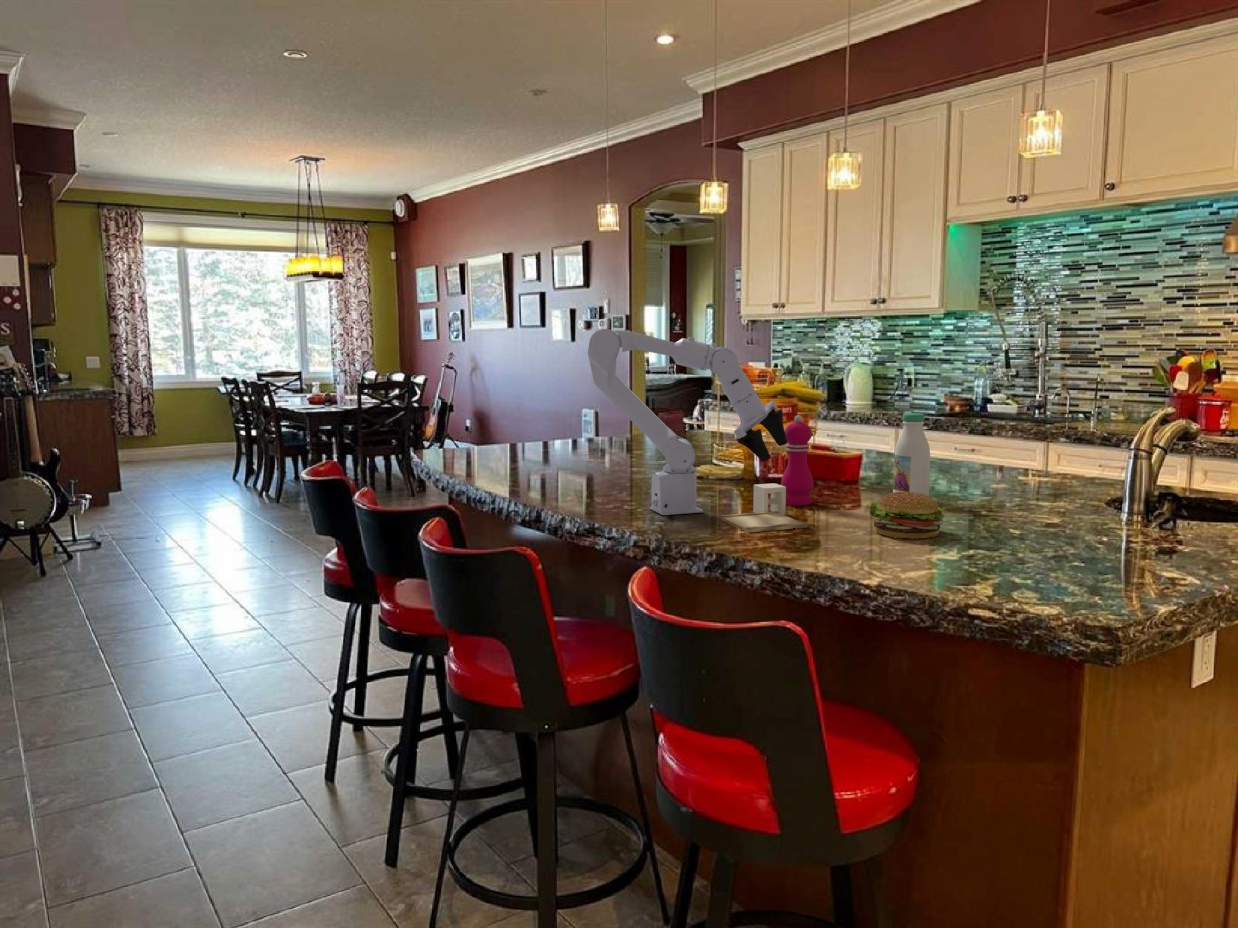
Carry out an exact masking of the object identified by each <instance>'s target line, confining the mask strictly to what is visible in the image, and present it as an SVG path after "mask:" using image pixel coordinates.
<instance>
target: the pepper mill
mask: <svg viewBox="0 0 1238 928" xmlns="http://www.w3.org/2000/svg"><path fill="white" fill-rule="evenodd" d="M793 420H794V422H791V423H789V424H787V426H786V427H785V428H784V431H785V434H786V438H787V441H788V443H787V444H786V451H788V452H787V453H788V463H787V466H786V469H785V471H784V473H783V474H782V477H781V482H780V485H782V486H785V487H786V500H785V506H792V505H793V506H794V507H801V506H802V505H805V506H809V504H810V505H811V504H812V495H810V494H809V493H811V492H812V490H813V489H814V478H813V476H812V473H811V471H810V469H809V466H808V459H807V457H808V452H809V451H810V448H809V447H810V444H809V441H810V440H811V439H812V437H813V433H812V428H811V426H810V425H808V424H807V423H805V422H803V417H802V416H801V415H795V416H794V419H793ZM802 507H803V506H802Z"/></svg>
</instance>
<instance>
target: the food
mask: <svg viewBox="0 0 1238 928" xmlns="http://www.w3.org/2000/svg"><path fill="white" fill-rule="evenodd" d="M944 512H945V513H946V512H947V508H945V507H944V506H940V505H939V504H938V502H937V500H935V498H932V497H931V496H930V495H929V496H928V495H925V494H921V493H917V492H906V491H905V492H895V493H893V492H891V493H888V494H886V495H884V496H882V497H881V498H880V499H879V500H878V502H876V501H875V502H874V501H873V502H871V503H870V509H869V514H870V515H871V516H872V517H874V518H875V519H873V526H874V529H875V532H876V533H878V534H880V535H882V534H883V535H882V536H884V535H886V536H885V537H888V536H890V537H889V538H893V537H896V538H895V539H901V538H908V539H907V540H920V539H919V538H926V539H931V538H930V537H932V538H935V537H937V536H939V534H940V530H941V526H942V524H943V523H944V521H943V518H945V514H943V513H944Z"/></svg>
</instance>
